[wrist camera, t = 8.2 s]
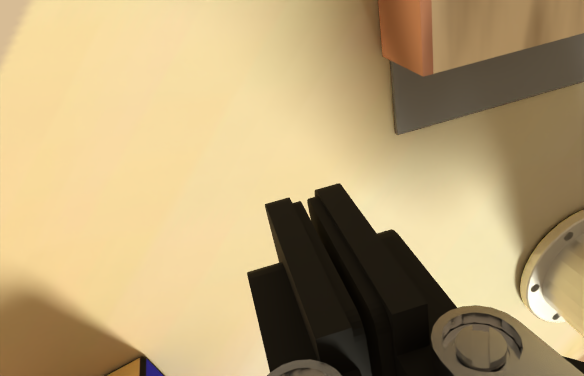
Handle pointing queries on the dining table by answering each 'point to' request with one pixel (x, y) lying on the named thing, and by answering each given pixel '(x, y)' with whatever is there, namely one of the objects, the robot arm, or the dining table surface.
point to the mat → (484, 83)
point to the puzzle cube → (138, 369)
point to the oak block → (471, 29)
